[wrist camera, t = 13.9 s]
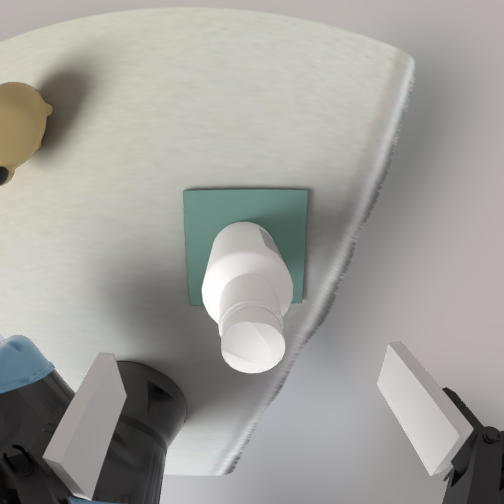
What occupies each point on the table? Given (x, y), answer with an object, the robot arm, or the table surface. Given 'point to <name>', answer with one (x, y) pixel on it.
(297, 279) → the mat
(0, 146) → the toy pig
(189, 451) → the table surface
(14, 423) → the robot arm
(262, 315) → the spray bottle
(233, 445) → the table surface
